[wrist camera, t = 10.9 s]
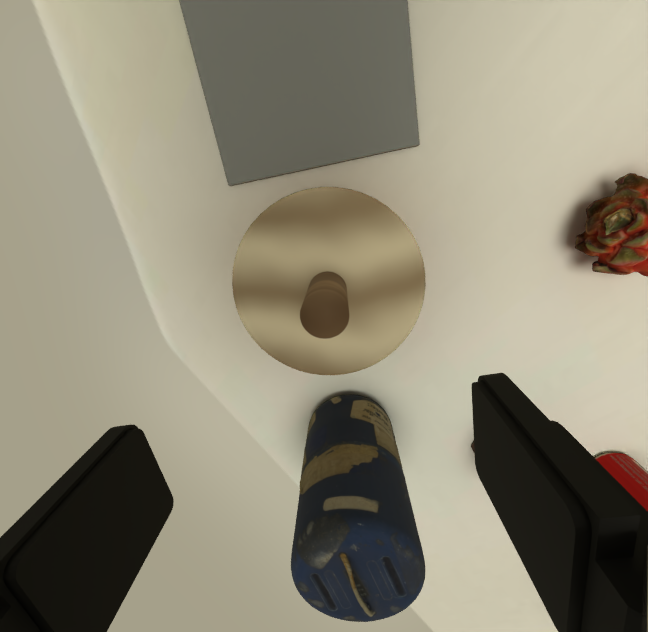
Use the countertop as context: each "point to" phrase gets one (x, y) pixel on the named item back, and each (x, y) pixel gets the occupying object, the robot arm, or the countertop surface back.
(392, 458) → the canister
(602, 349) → the countertop surface
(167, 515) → the robot arm
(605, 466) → the soda can
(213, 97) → the mat
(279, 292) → the lid
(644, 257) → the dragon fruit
